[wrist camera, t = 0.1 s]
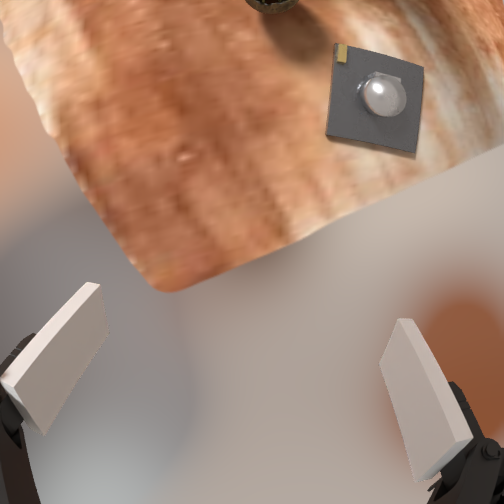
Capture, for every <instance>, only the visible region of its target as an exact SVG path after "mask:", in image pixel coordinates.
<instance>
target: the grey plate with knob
mask: <svg viewBox="0 0 504 504" xmlns="http://www.w3.org/2000/svg"><path fill="white" fill-rule="evenodd" d="M423 70H424V67H422V66H419V65H416V64H413V63H410V62H407V61H404V60H401V59H397V58H394V57H391V56H387V55H384V54H380V53H376V52H372V51H368V50H364V49H360V48H356V47H351V46H347V45H344V44H337V43H335V44H334V52H333V64H332V76H331V86H330V97H329V106H328V115H327V124H326V133H325V135H331V136H337V137H343V138H349V139H354V140H359V141H364V142H369V143H374V144H378V145H383V146H387V147H392V148H396V149H400V150H404V151H408V152H412V153H415V150H416V143H417V136H418V128H419V120H420V110H421V100H422V87H423Z"/></svg>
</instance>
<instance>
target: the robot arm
mask: <svg viewBox="0 0 504 504" xmlns="http://www.w3.org/2000/svg"><path fill="white" fill-rule="evenodd" d="M109 333H110V332H109V327H108V323H107V318H106V313H105V307H104V302H103V296H102V291H101V285H100V284H95V283H90V282H86V283H85V284H84V285H83V286H82V287H81V288H80V289H79V290H78V291H77V292H76V294H74V295H73V296H72V297H71V298H70V299H69V300H68V302H66V303H65V305H64V306H63V307H62V308H61V309H60V310H59V311H58V312H57V313H56V314H55V315H54V316H53V317H52V318H51V319H50V321H48V323H47V324H46V325H45V326H44V327H43V328H42V329H41V330H40V331H39V332H38V334H34V333H32V334H31V335H29V336H27V337H26V338H24V339H23V340H22V341H21V342H20V343H19V344H18V346H17V347H16V349H14V350H13V351H12V352H11V355H9V356H8V357H7V358H6V359H5V360H4V361H3V363H2V364H1V365H0V504H41V503H40V499H39V496H38V493H37V489H36V486H35V482H34V479H33V475H32V471H31V467H30V462H29V458H28V453H27V448H26V443H25V439H24V432H23V429H22V426H21V423H22V422H23V420H24V421H25V422H26V424H27V425H28V426H29V428H30V429H32V430H34V431H36V432H37V433H39V434H41V435H43V436H45V435H46V433H47V431H48V430H49V428H50V426H51V424H52V423H53V421H54V419H55V418H56V416H57V414H58V413H59V411H60V409H61V408H62V406H63V404H64V403H65V401H66V399H67V398H68V396H69V394H70V393H71V391H72V390H73V388H74V386H75V385H76V383H77V382H78V380H79V379H80V377H81V375H82V374H83V372H84V371H85V369H86V367H87V366H88V365H89V363H90V361H91V360H92V358H93V357H94V355H95V354H96V352H97V351H98V349H99V348H100V346H101V345H102V343H103V342H104V340H105V339H106V338H107V336H108V335H109ZM379 366H380V369H381V372H382V375H383V378H384V380H385V383H386V387H387V389H388V393H389V396H390V399H391V402H392V405H393V408H394V411H395V414H396V418H397V421H398V424H399V427H400V431H401V434H402V437H403V441H404V444H405V448H406V451H407V455H408V459H409V463H410V466H411V470H412V474H413V478H414V482H419V481H423V480H428V479H431V478H433V477H434V476H435V475H436V474H437V473H438V472H439V471H440V472H441V475H442V477H441V478H440V479H439V480H438V481H437V482H436V483H434V484H433V485H432V486H431V487H430V488H429V489H428V491H431V490H432V489H433V488H435V489H434V491H433V493H432V495H431V497H430V499H429V501H428V503H427V504H504V448H501V447H500V445H499V444H498V443H497V442H496V441H495V440H493V439H490V438H485V437H484V435H483V433H482V431H481V429H480V426H479V425H478V422H477V420H476V418H475V416H474V414H473V412H472V410H470V406H469V404H468V402H466V398H465V396H464V394H463V392H462V390H461V389H460V388H459V387H458V386H457V385H456V384H455V383H454V382H447V381H446V378H445V376H444V375H443V373H442V371H441V369H440V367H439V365H438V363H437V361H436V359H435V358H434V356H433V354H432V352H431V350H430V348H429V347H428V345H427V343H426V341H425V340H424V338H423V336H422V334H421V333H420V331H419V329H418V327H417V326H416V324H415V322H414V321H413V319H405V318H404V319H403V318H398V320H397V322H396V325H395V327H394V330H393V332H392V335H391V337H390V339H389V342H388V344H387V347H386V349H385V351H384V354H383V356H382V358H381V360H380V362H379Z"/></svg>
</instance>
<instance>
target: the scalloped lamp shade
mask: <svg viewBox="0 0 504 504" xmlns="http://www.w3.org/2000/svg"><path fill="white" fill-rule="evenodd" d="M245 1H246V2H247V3H248V4H249V5H250V6H251V7H252V8H254V9H255V10H257V11H259V12H262V13H266V14H278V13H282V12H285V11H287V10H289V9H291V8H292V7H293V6H294V5H295V4H296V3H297V2H298V0H278V3H273V4H265V1H266V0H245Z"/></svg>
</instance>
